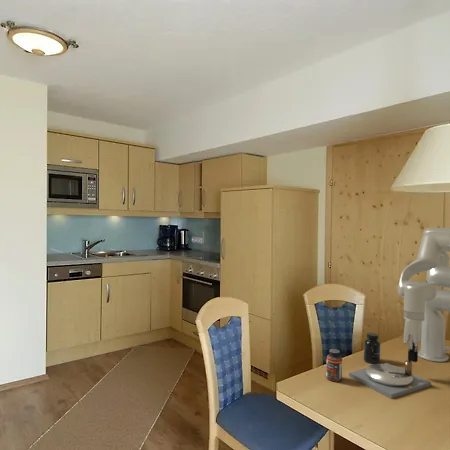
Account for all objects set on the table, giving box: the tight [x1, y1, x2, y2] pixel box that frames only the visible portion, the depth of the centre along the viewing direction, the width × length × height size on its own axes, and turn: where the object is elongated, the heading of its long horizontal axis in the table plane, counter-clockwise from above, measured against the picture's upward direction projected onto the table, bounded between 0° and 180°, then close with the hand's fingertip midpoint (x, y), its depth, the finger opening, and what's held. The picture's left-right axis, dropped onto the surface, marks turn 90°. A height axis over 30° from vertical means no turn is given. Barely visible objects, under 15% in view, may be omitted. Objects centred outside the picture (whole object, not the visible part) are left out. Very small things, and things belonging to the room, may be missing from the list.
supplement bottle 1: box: [325, 348, 343, 383], centre depth 146 cm, size 6×6×11 cm
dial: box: [365, 360, 413, 387], centre depth 144 cm, size 17×17×6 cm
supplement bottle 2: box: [363, 332, 381, 364], centre depth 164 cm, size 7×7×12 cm
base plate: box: [348, 362, 432, 399], centre depth 144 cm, size 22×20×2 cm
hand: (412, 360), depth 147 cm, fingers closed
